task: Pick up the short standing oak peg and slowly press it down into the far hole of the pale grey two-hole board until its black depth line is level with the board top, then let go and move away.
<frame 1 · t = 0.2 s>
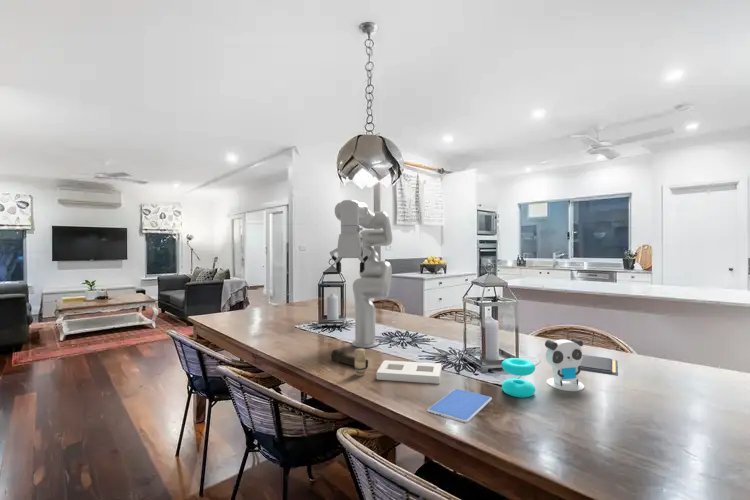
hand: (350, 272, 156), 36 cm above the table, tool pointing down, fingers open, 9 cm apart
hole board: (410, 374, 139), on the table
donuts: (518, 393, 122), on the table
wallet: (595, 367, 148), on the table
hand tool: (347, 365, 152), on the table
oak peg: (360, 374, 140), on the table
tablet computer: (460, 407, 113), on the table
panda figurine: (564, 385, 128), on the table
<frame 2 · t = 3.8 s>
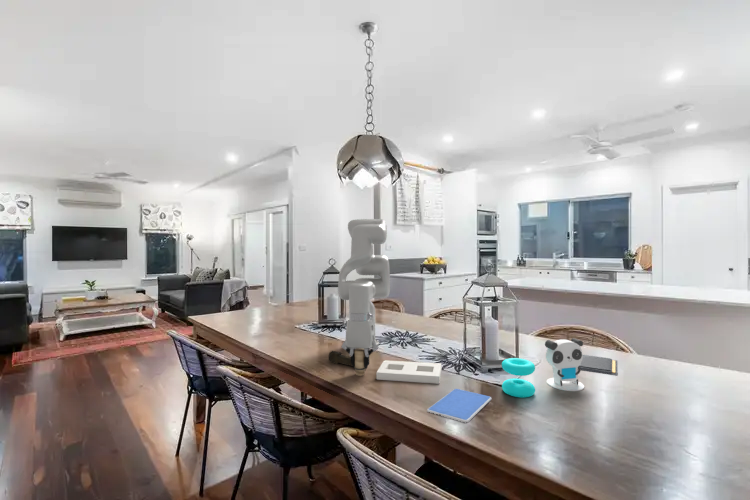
hand: (360, 365, 140), 3 cm above the table, tool pointing down, fingers closed on oak peg, 4 cm apart
oak peg: (360, 374, 140), on the table, touching gripper
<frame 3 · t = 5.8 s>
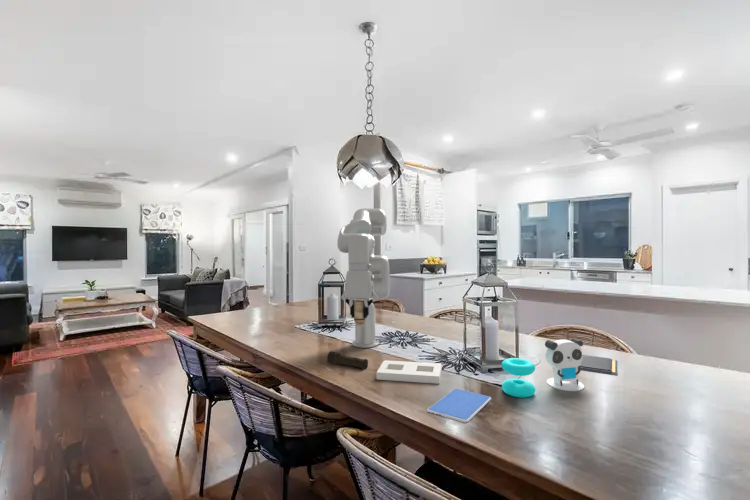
hand: (359, 316, 140), 21 cm above the table, tool pointing down, fingers closed on oak peg, 4 cm apart
oak peg: (359, 325, 140), point 18 cm above the table, touching gripper
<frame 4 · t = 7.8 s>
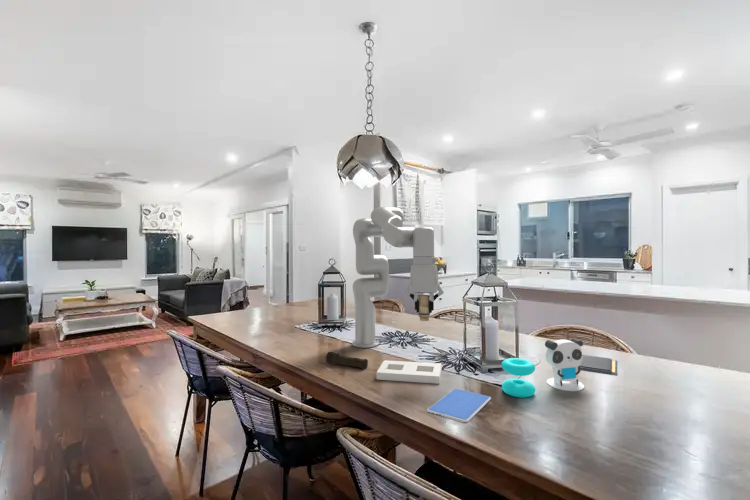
hand: (424, 311, 138), 23 cm above the table, tool pointing down, fingers closed on oak peg, 4 cm apart
oak peg: (424, 320, 138), point 20 cm above the table, touching gripper
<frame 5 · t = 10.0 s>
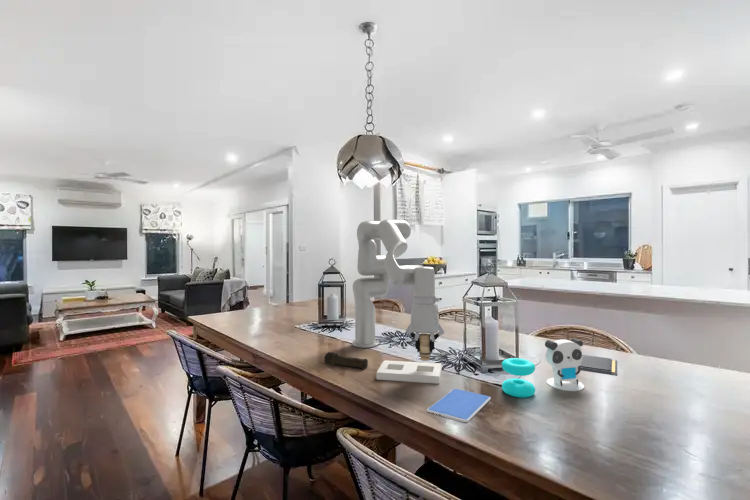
hand: (425, 350, 138), 9 cm above the table, tool pointing down, fingers closed on oak peg, 4 cm apart
oak peg: (425, 359, 138), point 6 cm above the table, touching gripper
when the fingers open (4 cm above the table, at t = 11.8 s): oak peg stays where it is, resting in hole board.
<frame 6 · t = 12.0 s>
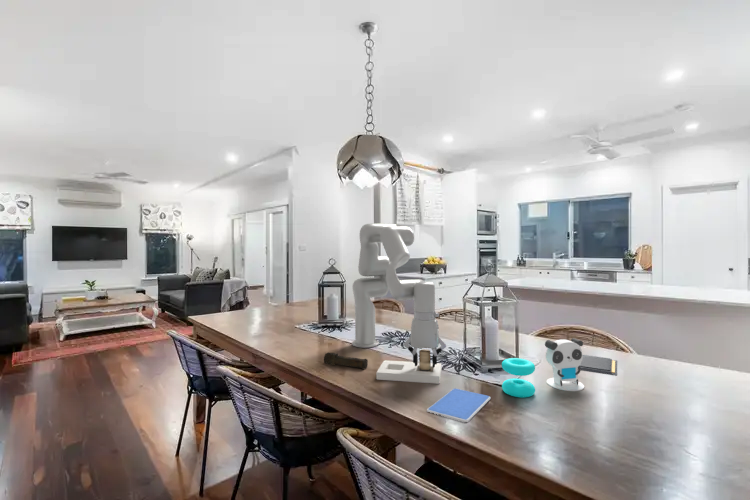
hand: (425, 365, 138), 4 cm above the table, tool pointing down, fingers open, 5 cm apart
oak peg: (425, 375, 138), resting in hole board
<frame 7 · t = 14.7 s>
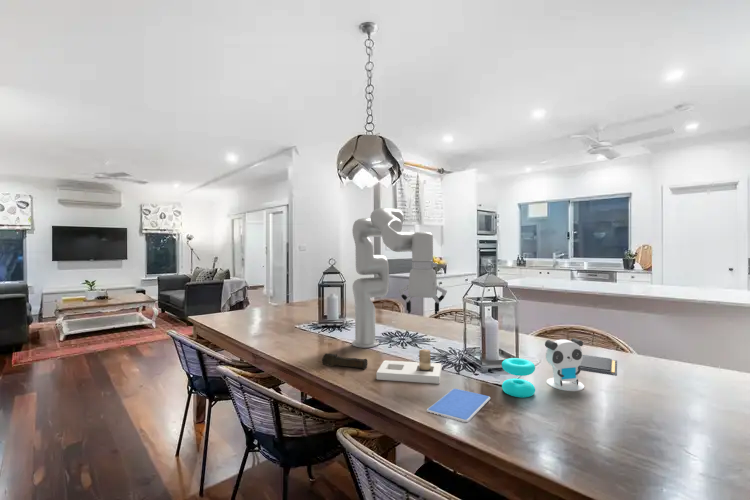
hand: (422, 313, 139), 23 cm above the table, tool pointing down, fingers open, 9 cm apart
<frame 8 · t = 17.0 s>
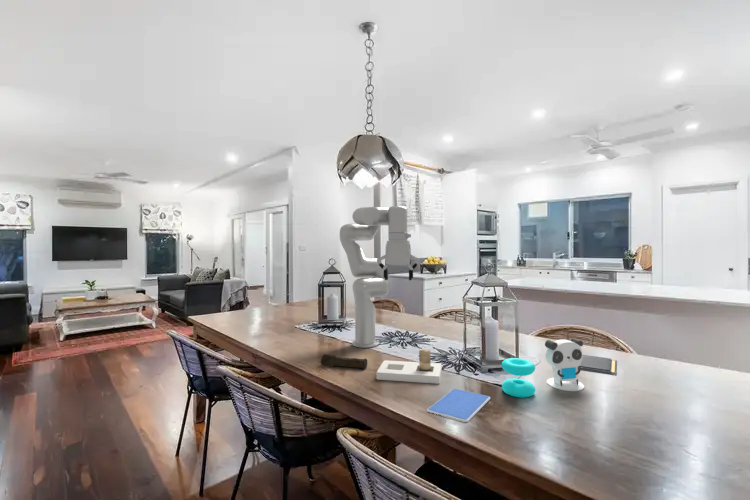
hand: (398, 279, 153), 33 cm above the table, tool pointing down, fingers open, 9 cm apart
at the end: oak peg 0.1 cm from the target spot on the hole board, point 0.0 cm above the hole board's base; oak peg tilted 0°; the gripper is holding nothing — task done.
